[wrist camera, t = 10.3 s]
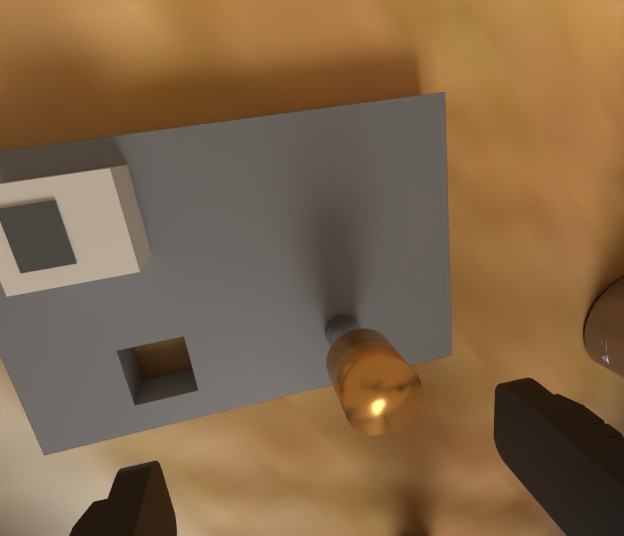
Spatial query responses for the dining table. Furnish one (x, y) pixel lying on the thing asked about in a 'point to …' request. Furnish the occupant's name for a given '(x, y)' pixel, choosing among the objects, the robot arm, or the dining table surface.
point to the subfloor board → (240, 265)
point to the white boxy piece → (70, 230)
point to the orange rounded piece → (370, 378)
